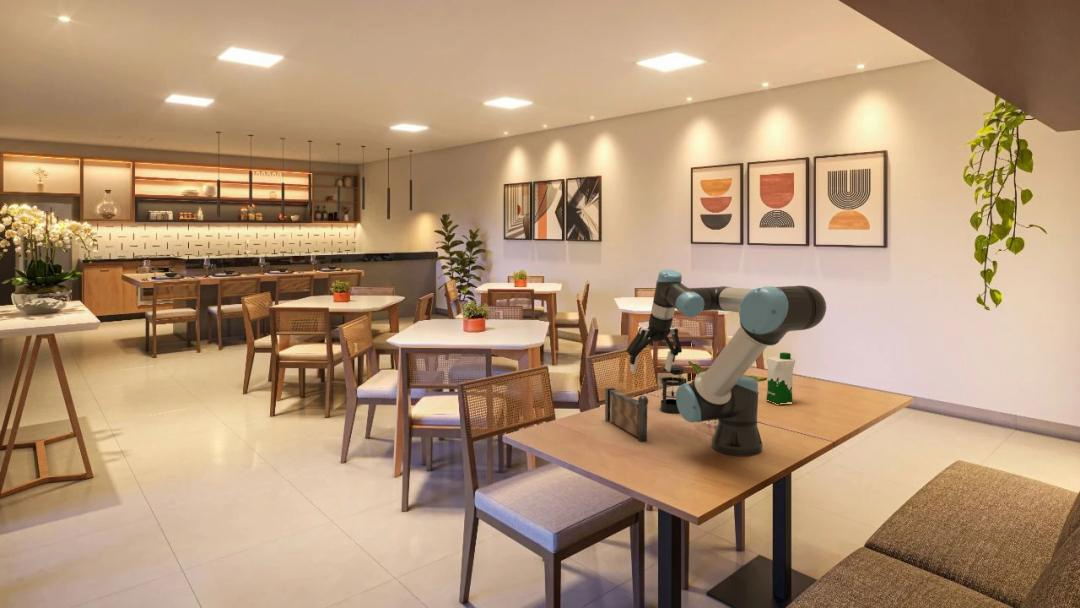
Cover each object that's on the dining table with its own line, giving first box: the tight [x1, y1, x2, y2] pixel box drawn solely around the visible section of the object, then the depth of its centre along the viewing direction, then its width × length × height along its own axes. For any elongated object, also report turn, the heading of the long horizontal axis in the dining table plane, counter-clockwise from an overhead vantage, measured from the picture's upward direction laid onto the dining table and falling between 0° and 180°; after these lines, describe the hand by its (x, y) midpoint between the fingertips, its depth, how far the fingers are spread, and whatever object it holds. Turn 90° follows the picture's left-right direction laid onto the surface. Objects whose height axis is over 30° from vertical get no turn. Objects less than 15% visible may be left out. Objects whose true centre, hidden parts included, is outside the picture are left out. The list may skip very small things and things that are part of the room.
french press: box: [659, 350, 687, 415], centre depth 238 cm, size 12×9×23 cm
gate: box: [610, 389, 639, 438], centre depth 214 cm, size 20×2×11 cm, turn 20°
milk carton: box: [765, 352, 796, 404], centre depth 248 cm, size 9×9×20 cm
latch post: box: [604, 386, 616, 423], centre depth 225 cm, size 2×3×12 cm, turn 110°
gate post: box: [637, 395, 649, 443], centre depth 203 cm, size 3×3×15 cm
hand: (650, 371), depth 215 cm, fingers open, 13 cm apart
